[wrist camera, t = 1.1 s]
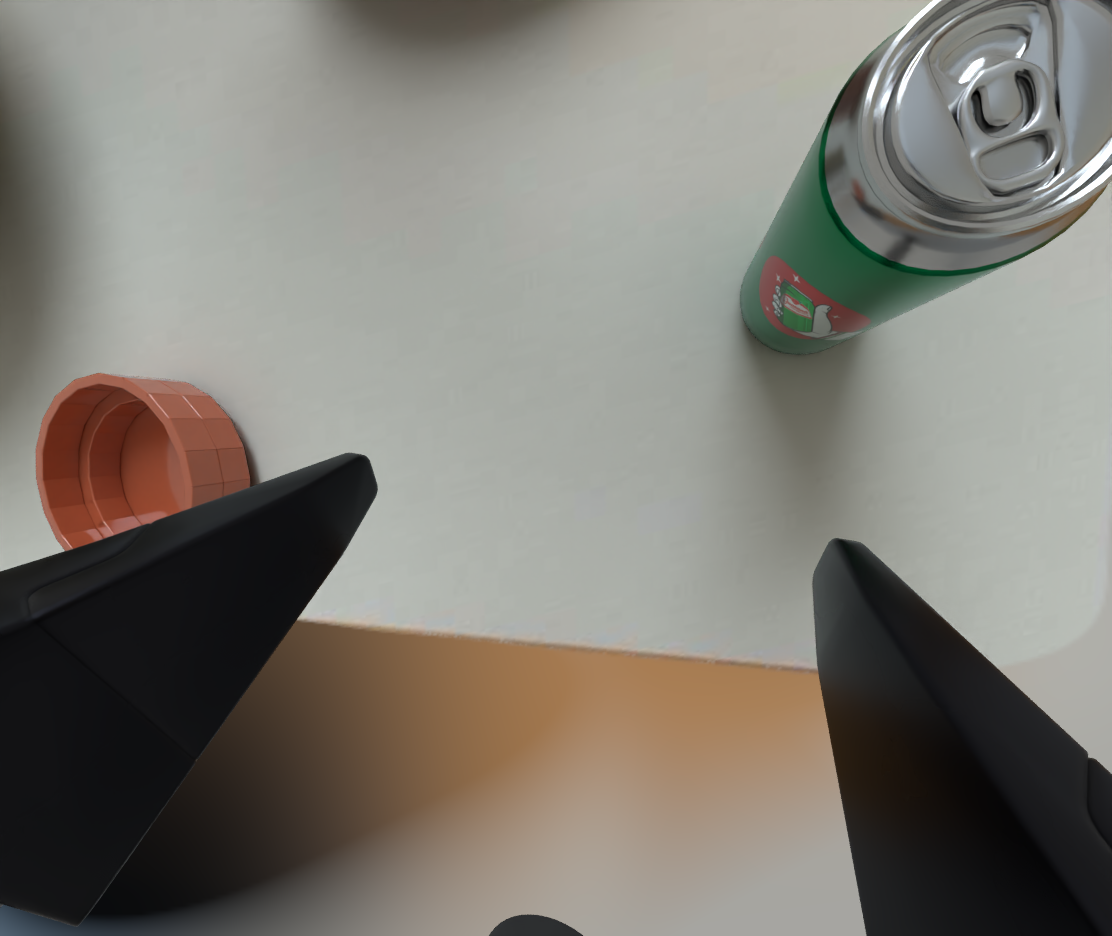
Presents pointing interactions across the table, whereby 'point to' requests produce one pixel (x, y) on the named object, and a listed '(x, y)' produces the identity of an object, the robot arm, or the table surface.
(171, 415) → the dish
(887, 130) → the soda can
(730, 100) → the table surface
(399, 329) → the table surface
